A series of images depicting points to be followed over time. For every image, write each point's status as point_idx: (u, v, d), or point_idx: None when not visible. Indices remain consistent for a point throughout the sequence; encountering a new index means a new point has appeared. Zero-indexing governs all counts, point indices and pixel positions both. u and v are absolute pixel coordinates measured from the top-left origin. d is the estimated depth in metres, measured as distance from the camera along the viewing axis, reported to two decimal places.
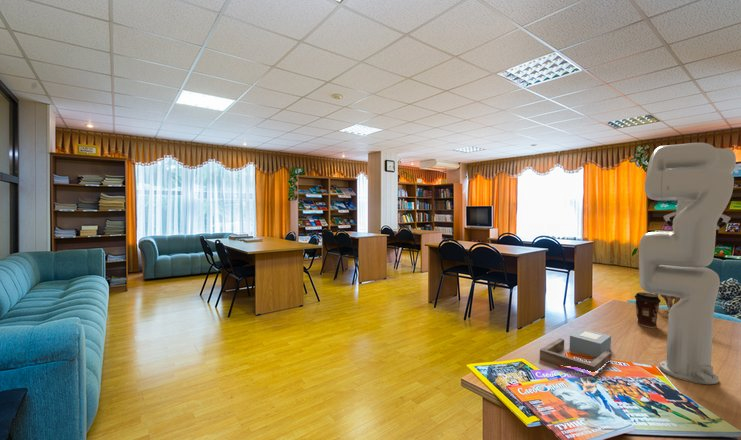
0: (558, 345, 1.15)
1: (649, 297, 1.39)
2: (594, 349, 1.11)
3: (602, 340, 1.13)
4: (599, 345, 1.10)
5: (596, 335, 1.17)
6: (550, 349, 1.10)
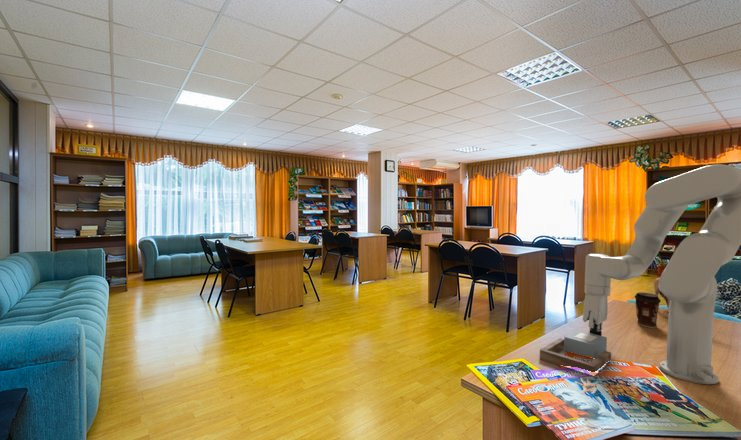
0: (558, 345, 1.15)
1: (649, 297, 1.39)
2: (588, 351, 1.10)
3: (597, 342, 1.12)
4: (593, 347, 1.09)
5: (591, 336, 1.16)
6: (550, 349, 1.10)
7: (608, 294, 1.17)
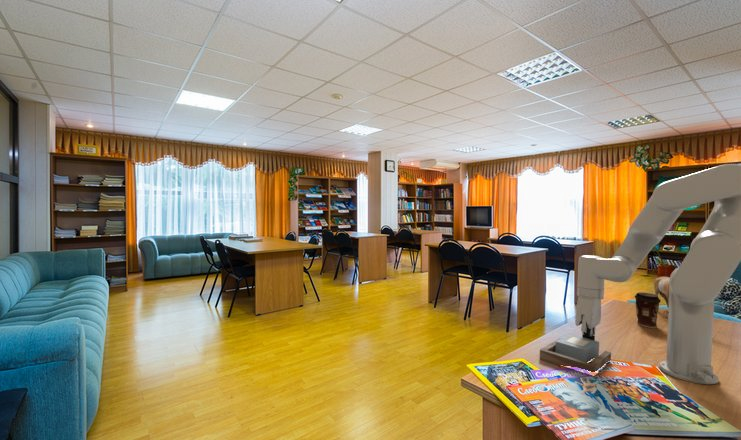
0: None
1: (649, 297, 1.39)
2: (580, 356, 1.06)
3: (589, 347, 1.07)
4: (585, 352, 1.05)
5: (583, 341, 1.12)
6: (550, 349, 1.10)
7: (601, 297, 1.12)
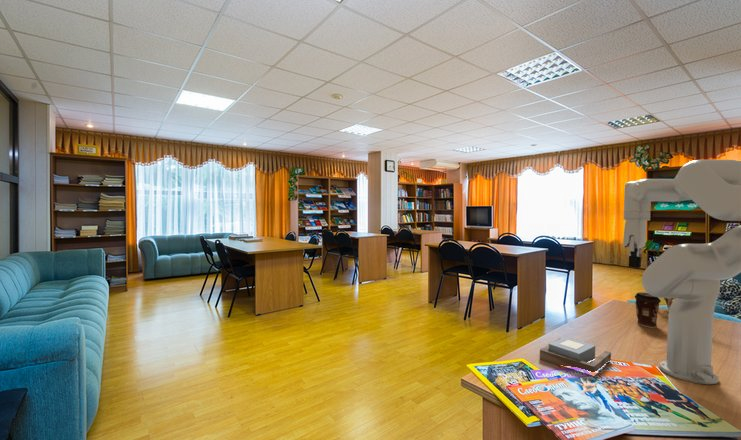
0: None
1: (649, 297, 1.39)
2: None
3: (583, 350, 1.05)
4: (578, 355, 1.02)
5: (578, 344, 1.09)
6: None
7: (648, 218, 1.19)
